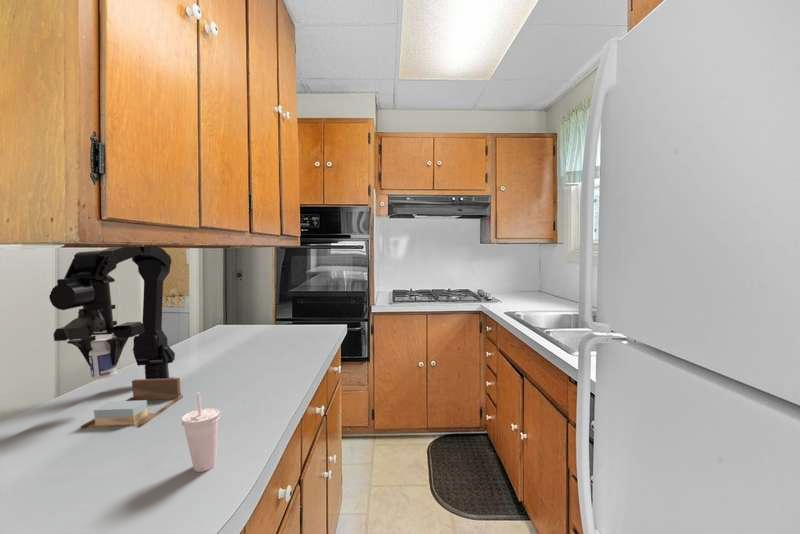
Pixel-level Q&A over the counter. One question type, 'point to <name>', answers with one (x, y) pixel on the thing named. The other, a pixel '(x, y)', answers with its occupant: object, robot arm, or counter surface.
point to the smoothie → (202, 436)
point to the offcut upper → (120, 409)
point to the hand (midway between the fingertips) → (103, 365)
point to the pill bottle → (101, 360)
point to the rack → (149, 397)
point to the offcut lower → (121, 419)
